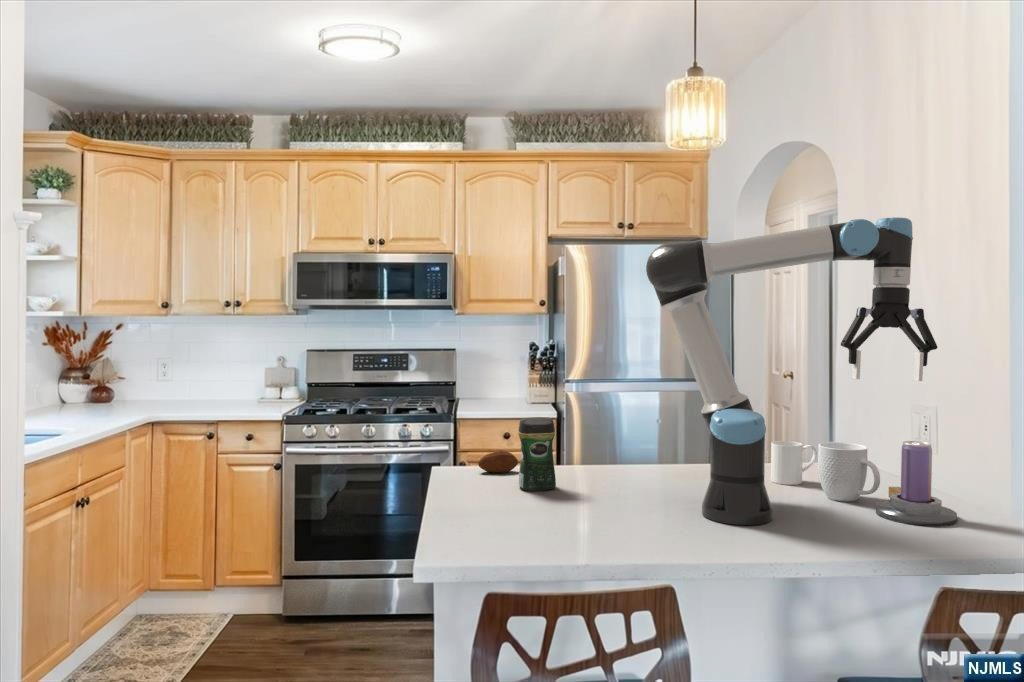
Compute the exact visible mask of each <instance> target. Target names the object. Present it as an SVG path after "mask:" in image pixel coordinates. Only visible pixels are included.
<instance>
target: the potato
mask: <svg viewBox="0 0 1024 682" xmlns="http://www.w3.org/2000/svg"><path fill="white" fill-rule="evenodd" d="M518 464H519V460H518V458H517V457H516V456H515V455H514V454H513V453H511V452H510V451H508V450H503V449H498V450H497V449H496V450H495V451H492V452H490V453H487V454H484V455H483V456H482V457H481V458H480V459H479V461H478V463H477V465H478V467H479V468H480V469H482V470H483V471H485V472H487V473H488V472H489V473H498V474H500V473H501V474H505V473H508V472H510V471H512V470H514V469H515V468H516V467H517V466H518Z"/></svg>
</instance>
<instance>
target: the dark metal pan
mask: <svg viewBox="0 0 1024 682" xmlns="http://www.w3.org/2000/svg"><path fill="white" fill-rule="evenodd" d="M888 498H890V499H889V500H883V501H879V502H877V503H875V514H876V515H877V516H879V517H880V518H883V519H886V520H889V521H890V522H894V523H900V524H904V525H912V526H918V527H919V526H920V527H935V528H936V527H938V528H939V527H947V526H948V527H949V526H953V525H955V524H957V522H958V513H957V512H956V511H955V510H953V509H951V508H948V507H945V506H942V505H943V504H942V502H943V501H942V499H941V498H940V499H939V498H937V497H934V496H932V495H931V503H917V502H910V501H905V500H901V486H888Z"/></svg>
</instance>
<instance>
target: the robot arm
mask: <svg viewBox="0 0 1024 682" xmlns="http://www.w3.org/2000/svg"><path fill="white" fill-rule="evenodd" d="M913 240H914V237H913V222H912V220H911V219H910V218H907V217H899V216H897V217H883V218H878V219H877V220H876V221H875V223H873V222H872V221H870V220H868V219H864V218H858V219H857V218H856V219H851V220H850V221H848V222H841V223H835V224H830V225H822V226H821V225H820V226H814V227H810V228H809V227H808V228H803V229H796V230H795V229H794V230H791V231H783V232H777V233H771V234H770V233H769V234H765V235H759V236H752V237H746V238H745V237H744V238H739V239H733V240H726V241H720V242H713V243H708V242H706V241H705V240H703V239H702V240H697V241H689V242H688V241H687V242H686V241H685V242H670V243H668V242H667V243H665V244H662V245H660V246H658V247H656V248H655V249H654V250H653V251H651V253H650V254H649V256H648V259H647V261H646V265H645V271H646V277H647V278H648V280H649V282H650V284H651V285H652V287H653V289H654V290H655V294H656V296H657V299H658V302H659V305H660V306H661V308H662V309H664V310H665V311H668V312H669V313H670V315H671V318H672V321H673V323H674V326H675V328H676V331H677V335H678V336H679V340H680V342H681V345H682V347H683V350H684V353H685V355H686V358H687V361H688V364H689V366H690V369H691V371H692V374H693V376H694V379H695V382H696V384H697V386H698V390H699V393H700V395H701V397H702V400H703V404H704V405H703V406H702V408H701V410H700V412H701V415H702V418H703V421H704V423H705V426H706V429H707V431H708V434H709V436H710V456H709V457H710V461H709V462H710V464H709V465H710V470H709V471H710V474H709V477H710V478H709V479H710V480H709V483H708V485H707V489H706V491H705V495H704V498H703V500H702V504H701V514H702V516H703V517H704V518H707V519H708V520H711V521H713V522H716V523H717V522H718V523H723V524H727V525H738V526H755V525H756V526H757V525H758V526H759V525H764V524H768V523H770V522H772V520H773V507H772V503H771V501H770V497H769V495H768V491H767V488H766V485H765V466H766V465H765V461H766V460H765V458H766V455H765V452H766V442H765V441H766V432H767V426H766V420H765V417H764V416H763V415H762V414H761V413H759V412H757V411H754V409H753V406H752V404H751V401H750V399H749V396H748V395H746V394H744V393H742V392H740V391H739V387H738V386H737V383H736V380H735V377H734V375H733V373H732V370H731V367H730V365H729V362H728V360H727V356H726V354H725V352H724V349H723V346H722V343H721V341H720V338H719V336H718V333H717V330H716V328H715V325H714V322H713V320H712V317H711V315H710V312H709V310H708V307H707V304H706V301H705V297H706V294H707V292H708V288H707V287H706V284H708V283H710V282H711V280H712V279H714V278H718V277H726V276H732V275H739V274H746V273H752V272H759V271H766V270H771V269H779V268H785V267H786V268H787V267H793V266H799V265H800V266H801V265H807V264H812V263H818V262H826V261H833V262H835V261H873V272H872V273H873V275H872V285H873V286H875V287H873V289H872V297H871V308H866V307H865V306H860V307H859V306H858V307H857V308H856V314H855V317H854V319H853V320H852V322H851V325H850V326H849V328H848V330H847V331H846V333H845V335H844V336H843V338H842V340H841V342H840V346H841V347H843V348H846V349H847V350H848V364H850V365H852V369H851V370H852V371H851V379H855V380H860V379H861V360H862V359H861V358H862V350H859V348H860V347H861V346H862V345H863V344H864V343H865V341H867V339H868V338H869V337H870V336H871V335H872V334H873V333H874V332H875V331H876V330H878V329H879V328H891V329H892V328H893V329H894V328H897V329H898V328H899V329H900V330H902V331H903V333H904V334H905V335H906V337H907V338H908V339H909V340H910V342H911V343H912V344H913V345H914V347H915V348H916V349H917V350H918V351H914V360H913V364H914V365H913V381H916V382H923V374H924V371H923V370H924V367H927V365H928V355H929V354H928V353H930V352H931V351H933V350H937V349H938V345H937V342H936V340H935V337H934V336H933V334H932V332H931V329H930V327H929V326H928V323H927V321H926V319H925V312H924V311H925V310H924V309H923V308H914V309H910V308H909V306H910V305H909V304H910V296H911V295H910V291H911V290H910V289H909V287H908V286H910V285H911V273H912V272H911V270H912V269H911V267H912V266H911V265H912V264H911V263H912V247H913ZM869 315H870V317H872V320H871V321H869V323H868V325H867V326H866V327H865V328H864V329H863V330H862V331H861V332H860V334H858V335H857V333H858V332H859V329H860V328H861V326H862V324H863V323H864V321H865V319H866V318H868V316H869ZM910 317H911V318H912V319H914V323H915V324H916V326H917V327H916V328H917V329H918V331H919V333H920V335H921V337H922V338H921V337H920V335H918V333H917V332H916V331H915V330H914V328H912V325H911V324H910V322H908V320H907V319H908V318H910ZM856 335H857V336H856ZM854 338H855V339H854Z"/></svg>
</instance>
